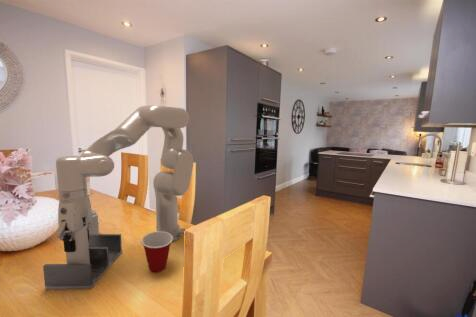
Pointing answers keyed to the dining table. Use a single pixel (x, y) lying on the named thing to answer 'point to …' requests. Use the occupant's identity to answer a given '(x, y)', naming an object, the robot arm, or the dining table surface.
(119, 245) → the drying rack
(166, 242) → the plastic cup
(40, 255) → the dining table surface
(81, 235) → the travel mug
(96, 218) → the can
